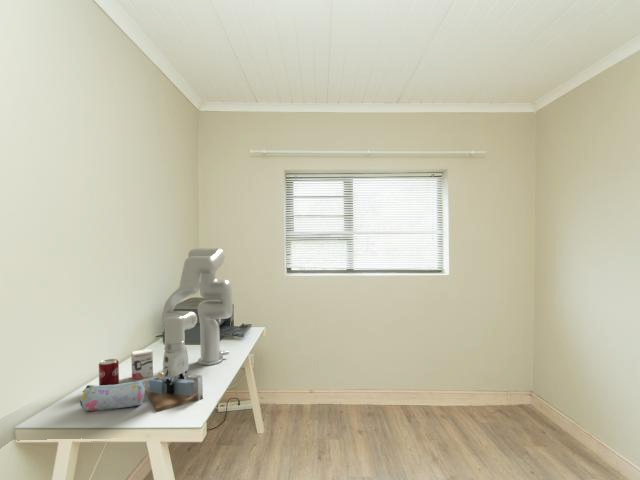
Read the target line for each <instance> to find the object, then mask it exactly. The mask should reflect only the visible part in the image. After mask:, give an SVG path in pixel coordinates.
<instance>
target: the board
mask: <svg viewBox="0 0 640 480" xmlns="http://www.w3.org/2000/svg"><path fill="white" fill-rule="evenodd" d="M185 380H187V378H185ZM145 394H146V396H147V397H148V399H149V401H150V402H151V404H152V406H153V407H154V409H155V411H156V413H157V412H160V411H163V410H164V411H165V410H167V409H171V408H174V407H175V408H176V407H178V406H181V405H186V404H189V403H192V402H195V401H198V400H197V397H194V395H192V396H184V395H178V394H167V393H163V394H157V393H151V392H149V387H145ZM203 396H204V395H202V396H201V399H200V400H202V399H204V397H203Z"/></svg>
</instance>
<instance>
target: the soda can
mask: <svg viewBox="0 0 640 480" xmlns="http://www.w3.org/2000/svg"><path fill="white" fill-rule="evenodd" d="M119 365H120V363H119V360H118V359H117V358H107V359H104V360H101V361H100V362H99V363H98V386H101V385H116V384H120V374H119V373H120V372H119V371H120V367H119Z"/></svg>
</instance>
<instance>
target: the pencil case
mask: <svg viewBox="0 0 640 480" xmlns="http://www.w3.org/2000/svg"><path fill="white" fill-rule="evenodd" d="M145 388H146V386H145V383H144V381H143V380H137V381H129V382H124V383H119V384H116V385H101V386H99V385H94V384H87V385H86V386H85V388H84V390H82V392H83V393H82V396H81V400H79V404H80V407H81V409H82V410H83V411H85V412H95V411H96V412H97V411H105V410H113V409H123V408H129V407H130V408H131V407H136V406H141V405H142V403H143V400H144V397H145V394H146V391H145Z"/></svg>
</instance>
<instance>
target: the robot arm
mask: <svg viewBox="0 0 640 480" xmlns="http://www.w3.org/2000/svg"><path fill="white" fill-rule="evenodd" d="M187 256H188V258H186V259H185V261H184V264H183V267H182V272H181V276H180V281H179V286H178V288H176V289H175V291H173V292H172V293H171V294H170V295H169V297H168V298H167V299H166V300H165V302H164V305H163V310H162V313H161V325H162V328H163V329H164V353H163V358H162V360H163V362H162V372H163V375H162V377H161V380H162V381H163V382H165V384H167V394H174V384H173V380H174V378H178V379H186V378H187V376H186V374H187V372H188V370H189V368H190V365H189V354H188V349H187V347H186V341H185V340H186V338H185V335H186V334H185V331H187V330H192V329H193V328H194V327H195V326H196V325H197V322H198V319H199V333H200V334H199V335H200V341H199V342H200V357H199V358H198V359H197V364H198V365H201V366H211V365H216V364H219V363H222V362H223V361H224V357H223V356H227V355H229V354H230V351H229V350H220V348H221V347H220V345H221V343H220V340H221V339H220V325H219V323H218V322H217V320H221V319H222V320H223V319H225V320H226V319H229V318H231V317H232V315H233V311H234V309H233V308H234V305H233V303H234V302H233V292H232V291H233V289H232V284H231V282H230V281H229V280H228V279H218V278H217V273H216V272H217V271H218V270H219V269H220V267H221V266H222V265H223V263H224V261H225V252H224V250H223V249H222V248H219V247H217V248H215V247H212V248H210V247H209V248H208V247H207V248H205V247H204V248H203V247H200V248H194V249H193V248H192V249H190V250H189V251H188V255H187ZM198 292H199V294H200V297H201V298H204V299H206V300H202V301H201V302H199V304H198V306H197V313H195V312H194V311H190V310H185V311H184V310H176V311H175V307H176V306H177V305H178V303H180V302H181V301H183V300H184V299H186V298H189V297H190V296H193V295H195V294H197V293H198ZM208 299H209V300H208ZM197 314H198V316H197ZM169 378H171V379H170V380H169Z"/></svg>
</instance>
